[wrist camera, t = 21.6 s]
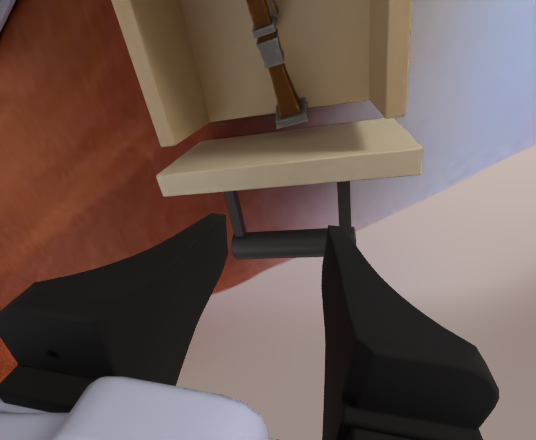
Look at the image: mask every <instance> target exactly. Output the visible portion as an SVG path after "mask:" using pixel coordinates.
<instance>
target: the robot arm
mask: <svg viewBox="0 0 536 440" xmlns="http://www.w3.org/2000/svg"><path fill="white" fill-rule="evenodd" d="M15 1H16V0H0V32H1V29H2V27H3V25H4V23H5V21H6V19H7V17H8V15H9V13H10V11H11V9H12V7H13V5H14V3H15ZM227 255H228V247H227V230H226V215H223V214H214V213H211V214H209V215H208V216H206V217H204V218H203V219H201V220H199V221H198V222H196V223H195V224H193V225H191V226H190V227H188V228H186V229H185V230H183V231H181V232H180V233H178V234H176V235H175V236H173V237H171V238H169V239H167V240H165V241H164V242H162V243H160V244H158V245H156V246H154V247H152V248H150V249H148V250H146V251H143V252H141V253H139V254H136V255H134V256H131V257H129V258H126V259H123V260H120V261H118V262H115V263H112V264H109V265H106V266H103V267H99V268H96V269H93V270H89V271H85V272H82V273H78V274H74V275H69V276H65V277H60V278H55V279H50V280H45V281H40V282H35V283H33V284H32V285H31V286H30V287H29V288H27V289H26V290H25V291H24V292H23V293H21V294H20V295H19V296H18V297H17V298H15V299H14V300H13V301H12V302H11V303H9V304H8V305H7V306H6V307H5V308H3V309H2V310H1V311H0V337H1V339H2V340H3V342H4V343H5V345H6V346H7V348H8V349H9V351H10V352H11V354H12V355H13V357H14V358H15V360H16V361H17V363H18V364H19V365H18V366H17V367H16V368H15V369H14V370H13V371H12V372H11V373H10V374H9V375H8V376H7V377H6V378H5V379H4V380H3V381H2V382H1V383H0V440H278V439H273V438H268V431H267V428H266V426H265V424H264V422H263V419H262V417H261V416H260V415H259V413H257V412H256V411H255V410H254V409H252V408H251V407H249V406H248V405H247V404H245V403H244V402H242V401H239V400H236V399H233V398H230V397H227V396H224V395H220V394H215V393H209V392H204V391H199V390H193V389H188V388H182V387H177V386H176V383H177V380H178V377H179V374H180V371H181V368H182V365H183V362H184V359H185V356H186V353H187V350H188V347H189V344H190V342H191V339H192V336H193V334H194V331H195V328H196V325H197V323H198V321H199V318H200V316H201V314H202V312H203V310H204V308H205V306H206V304H207V302H208V300H209V298H210V296H211V294H212V292H213V290H214V288H215V286H216V284H217V282H218V280H219V278H220V276H221V273H222V271H223V268H224V265H225V261H226V258H227ZM322 299H323V312H324V325H325V342H326V348H325V350H326V351H325V384H324V385H325V386H324V413H323V437H322V440H483V439H482V436H481V434H480V431H479V427H480V426H481V425H482V423H483V422H484V421H485V419H486V418H487V417H488V416H489V414H490V413H491V412H492V410H493V409H494V408H495V406H496V404H497V402H498V400H499V389H498V387H497V385H496V383H495V381H494V379H493V377H492V375H491V373H490V371H489V369H488V366H487V365H486V363H485V361H484V359H483V358H482V356H481V354H480V353H479V351H478V349H477V348H476V347H475V346H474V345H472V344H471V343H469V342H467V341H466V340H464V339H462V338H460V337H459V336H457V335H455V334H454V333H452V332H450V331H449V330H447V329H445V328H444V327H442V326H441V325H439V324H438V323H436V322H435V321H433V320H432V319H430V318H429V317H427V316H426V315H425V314H423V313H422V312H421V311H419V310H418V309H417V308H415V307H414V306H413V305H411V304H410V303H409V302H408V301H406V300H405V299H404V298H402V297H401V296H400V295H399V294H398V293H397V292H396V291H395V290H394V289H392V288H391V287H390V286H389V285H388V284H387V283H386V282H385V281H384V280H383V279H382V278H381V277H380V276H379V275H378V274H377V272H376V271H375V270H374V269H373V268H372V267H371V265H370V264H369V263H368V261H367V260H366V259H365V258H364V256H363V255H362V253H361V252H360V251H359V249H358V248H357V246H356V245H355V243H354V242H353V240H352V239H351V237H350V235H349V234H348V232H347V230H346V229H345V228H344V227H340V226H330V225H328V232H327V238H326V245H325V252H324V259H323V266H322Z"/></svg>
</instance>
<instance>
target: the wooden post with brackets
mask: <svg viewBox="0 0 536 440" xmlns="http://www.w3.org/2000/svg"><path fill="white" fill-rule="evenodd" d="M246 2H247V5H248V9H249V12H250V15H251V18H252V21H253V30H252V33H253V35H254V39H255V38H257V44H256V45H257V47H258V49H259V51H260V53H261V56H262V59H263V62H264V67H265V69H267V68H268V70H269V73H270V76H271V79H272V83H273V87H274V91H275V95H276V99H277V103H278V104H277V105H276V120H275V123H276V124H277V129H279V128H283V127H287V126H291V125H295V124H298V123H302V122H306V121H309V116H308V102H307V101H306V99H305V97H302V98H299V96H298V95H297V93H296V91H295V89H294V86H293V84H292V81H291V79H290V77H289V74H288V72H287V70H286V67H285V63H284V51H283V49H282V47H281V43H280V39H279V35H278V28H277V29H276V25H277V21H278V20H277V17H276V16H278V12H279V8H278V7H277V5H276V3H275V0H246Z"/></svg>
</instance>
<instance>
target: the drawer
mask: <svg viewBox="0 0 536 440" xmlns="http://www.w3.org/2000/svg"><path fill="white" fill-rule="evenodd" d="M111 1H112V4H113V7H114V10H115V13H116V16H117V19H118V22H119V25H120V28H121V31H122V34H123V37H124V40H125V42H126V45H127V48H128V51H129V54H130V57H131V60H132V63H133V66H134V69H135V72H136V75H137V78H138V81H139V84H140V87H141V90H142V92H143V95H144V98H145V101H146V104H147V107H148V110H149V113H150V116H151V119H152V122H153V125H154V128H155V131H156V134H157V137H158V140H159V142H160V145H161V147H168V146H175V145H177V144H178V143H180V142H181V141H183V140H184V139H186V138H187V137H189V136H190V135H192V134H193V133H195V132H196V131H198V130H199V129H201V128H202V127H203V126H205V125H206V124H208V123H209V122H216V121H223V120H230V119H237V118H244V117H252V116H259V115H266V114H273V113H276V105H277V104H278V103H277V99H276V95H275V91H274V87H273V83H272V79H271V76H270V73H269V70H268V68H267V69H265V67H264V62H263V59H262V56H261V53H260V51H259V49H258V47H257V45H256V44H257V38H255V39H254V35H253V33H252V30H253V21H252V18H251V15H250V12H249V9H248V5H247V2H246V0H111ZM275 3H276V5H277V7H278V8H279V12H278V16H276V17H277V20H278V21H277V25H276V29H277V28H278V35H279V39H280V43H281V47H282V49H283V51H284V63H285V67H286V70H287V72H288V74H289V77H290V79H291V81H292V84H293V86H294V89H295V91H296V93H297V95H298V96H299V98H302V97H305V99H306V101H307V102H308V108H315V107H322V106H329V105H336V104H343V103H351V102H358V101H365V100H371V102H372V103H373V104H374V105H375V106H376V108H377V109H378V110H379V111H380V113H381V114H382V115H383V116H384V117H385V118H381V119H373V120H365V121H357V122H349V123H341V124H333V125H325V126H318V127H310V128H302V129H294V130H286V131H278V132H270V133H263V134H255V135H247V136H239V137H231V138H223V139H215V140H207V141H200V142H199V143H198V144H196V145H195V146H194V147H192V148H191V149H190V150H189V151H187V152H186V153H185V154H183V155H182V156H181V157H180V158H178V159H177V160H176V161H174V162H173V163H172V164H171V165H169V166H168V167H167V168H165V169H164V170H163V171H161V172H160V173H159V174H158V175H156V178H157V181H158V184H159V186H160V189H161V192H162V194H163V196H164V197H165V196H177V195H189V194H201V193H213V192H224V195H225V199H226V203H227V207H228V211H229V215H230V219H231V223H232V227H233V231H234V235H233V238H232V253H233V256H234V258H235V259H264V258H297V257H324V252H325V245H326V238H327V232H328V228H323V229H303V230H284V231H264V232H246V228H245V223H244V219H243V215H242V210H241V206H240V202H239V197H238V193H237V190H248V189H260V188H272V187H283V186H295V185H307V184H319V183H331V182H337V190H338V209H339V226H340V227H344V228H345V229H346V230H347V232H348V234H349V235H350V237H351V239H352V240H353V242H354V243H355V245H356V236H355V229H354V227H351V206H350V181H354V180H366V179H378V178H389V177H401V176H413V175H420V174H421V166H422V155H423V148H422V147H421V146H420V145H419V144H418V143H417V142H416V141H415V140H414V139H413V137H412V136H411V135H410V134H409V133H408V132H407V131H406V130H405V129H404V128H403V127H402V126H401V125H400V124H399V123H398V122H397V121H396V119H395V118H396V117H404V116H405V115H406V101H407V84H408V67H409V51H410V34H411V17H412V0H275Z"/></svg>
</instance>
